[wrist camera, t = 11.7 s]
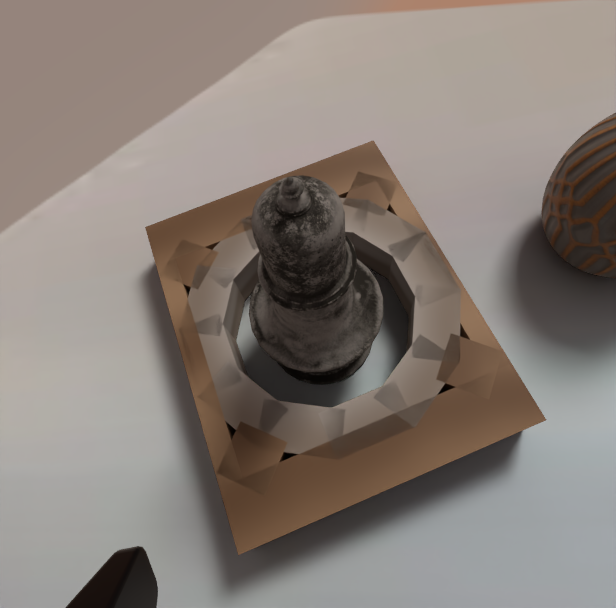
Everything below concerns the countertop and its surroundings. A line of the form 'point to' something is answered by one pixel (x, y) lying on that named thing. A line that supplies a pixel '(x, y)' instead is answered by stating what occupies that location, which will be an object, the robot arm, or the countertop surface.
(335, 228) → the grey chess piece
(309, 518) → the bore block
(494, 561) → the countertop surface
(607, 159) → the vase
